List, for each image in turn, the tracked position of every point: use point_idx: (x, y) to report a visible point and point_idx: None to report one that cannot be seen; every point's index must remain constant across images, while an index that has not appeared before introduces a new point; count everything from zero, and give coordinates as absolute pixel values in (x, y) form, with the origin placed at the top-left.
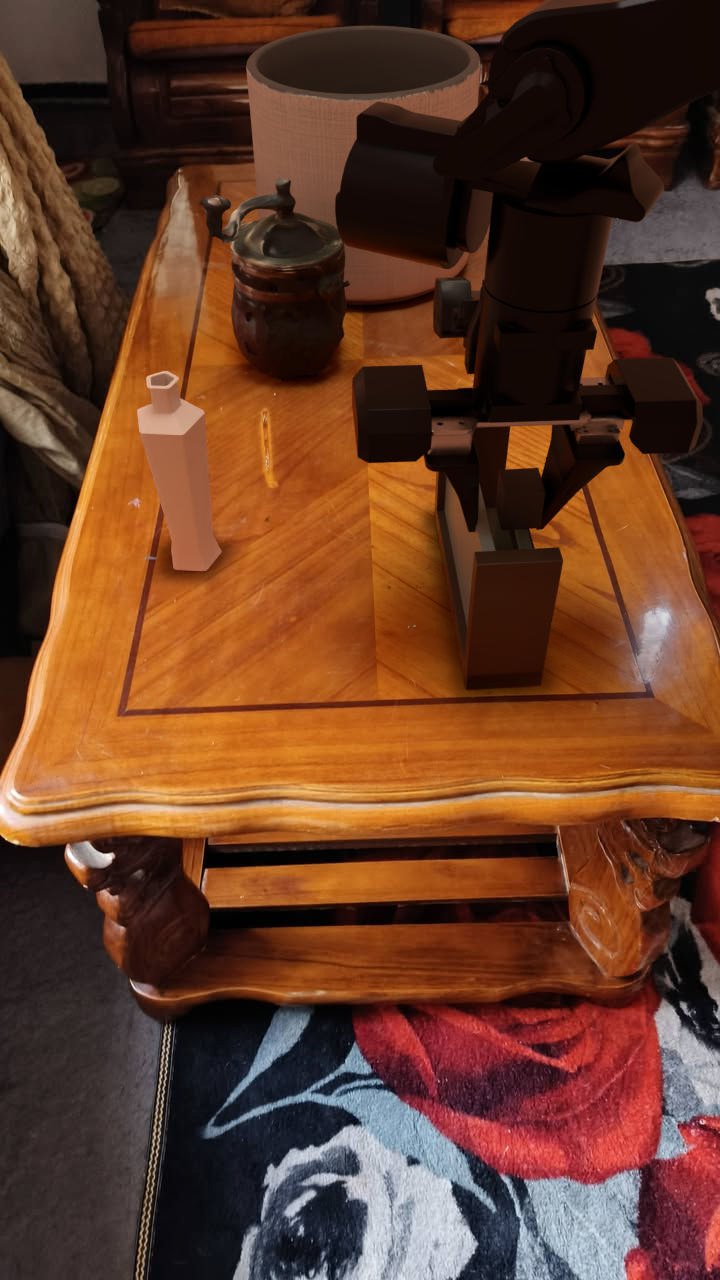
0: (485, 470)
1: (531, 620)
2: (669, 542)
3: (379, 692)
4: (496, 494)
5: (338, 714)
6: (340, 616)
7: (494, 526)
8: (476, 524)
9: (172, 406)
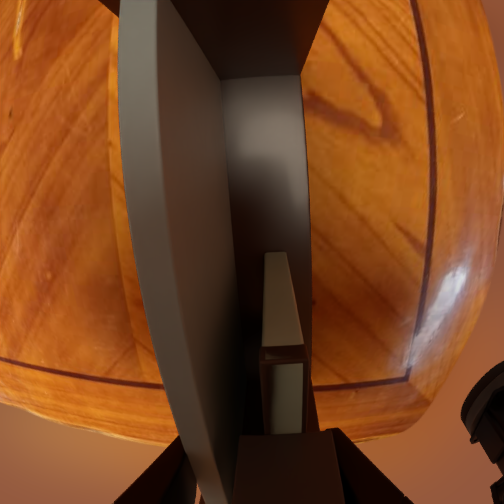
0: (266, 50)
1: None
2: (496, 155)
3: (144, 375)
4: (236, 462)
5: (116, 390)
6: (88, 274)
7: (284, 121)
8: (196, 481)
9: None
